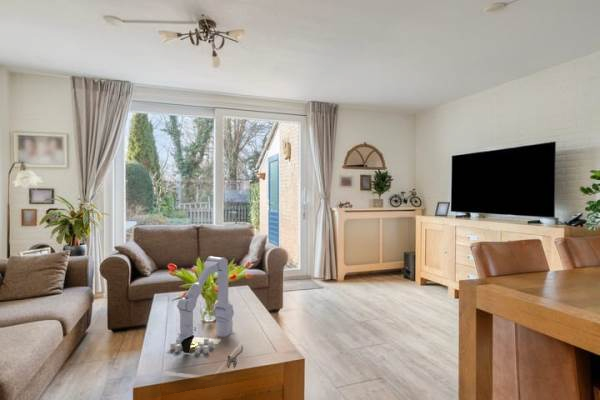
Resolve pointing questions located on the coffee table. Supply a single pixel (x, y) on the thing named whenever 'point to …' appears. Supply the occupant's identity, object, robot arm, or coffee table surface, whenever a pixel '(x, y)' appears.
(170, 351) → the spacer board
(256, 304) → the coffee table surface
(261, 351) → the coffee table surface
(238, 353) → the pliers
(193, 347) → the nut
